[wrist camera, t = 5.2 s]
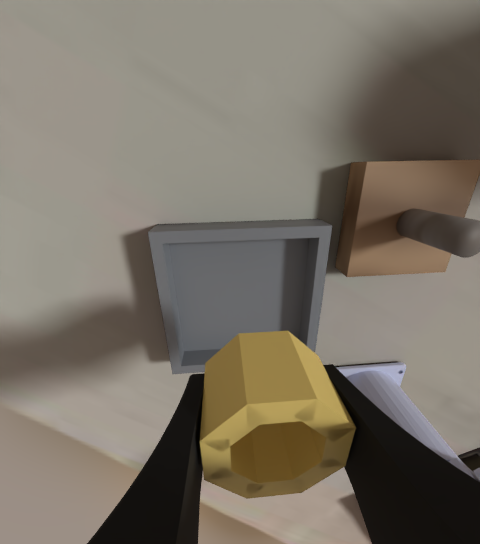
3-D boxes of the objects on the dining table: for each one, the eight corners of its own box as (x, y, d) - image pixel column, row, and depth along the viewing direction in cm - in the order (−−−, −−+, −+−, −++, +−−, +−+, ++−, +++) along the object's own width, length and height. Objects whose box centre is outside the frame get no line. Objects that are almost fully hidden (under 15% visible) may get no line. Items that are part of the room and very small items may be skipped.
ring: (309, 409, 13) (339, 488, 10) (210, 418, 13) (207, 502, 9) (322, 328, 11) (365, 395, 8) (202, 335, 10) (195, 408, 7)
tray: (304, 345, 23) (313, 363, 21) (177, 354, 22) (172, 374, 20) (318, 218, 18) (332, 225, 16) (156, 224, 17) (147, 231, 15)
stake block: (424, 262, 20) (508, 300, 15) (335, 267, 20) (384, 308, 14) (456, 160, 17) (580, 155, 11) (350, 162, 17) (423, 158, 11)
